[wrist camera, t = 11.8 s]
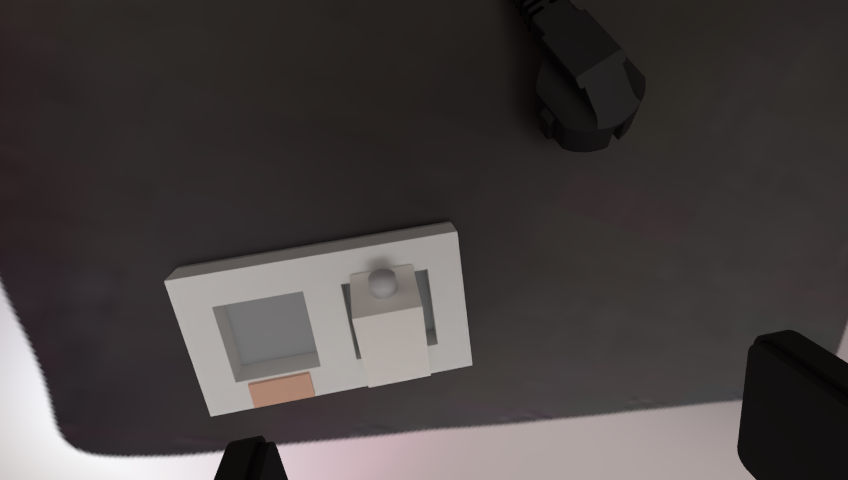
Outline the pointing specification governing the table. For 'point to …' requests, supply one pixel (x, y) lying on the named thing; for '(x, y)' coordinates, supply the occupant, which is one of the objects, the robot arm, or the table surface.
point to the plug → (389, 325)
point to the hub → (309, 315)
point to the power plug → (580, 77)
